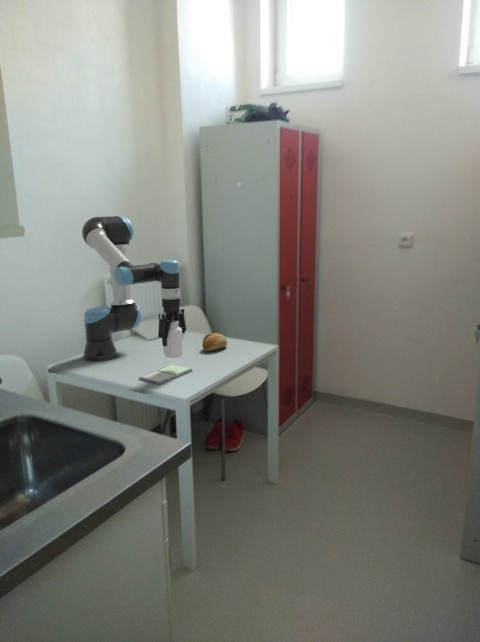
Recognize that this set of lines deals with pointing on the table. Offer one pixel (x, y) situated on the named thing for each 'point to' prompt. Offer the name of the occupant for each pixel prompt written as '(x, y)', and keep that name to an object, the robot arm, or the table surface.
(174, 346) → the pill bottle
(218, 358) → the table surface
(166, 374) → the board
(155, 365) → the table surface
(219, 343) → the bread roll
